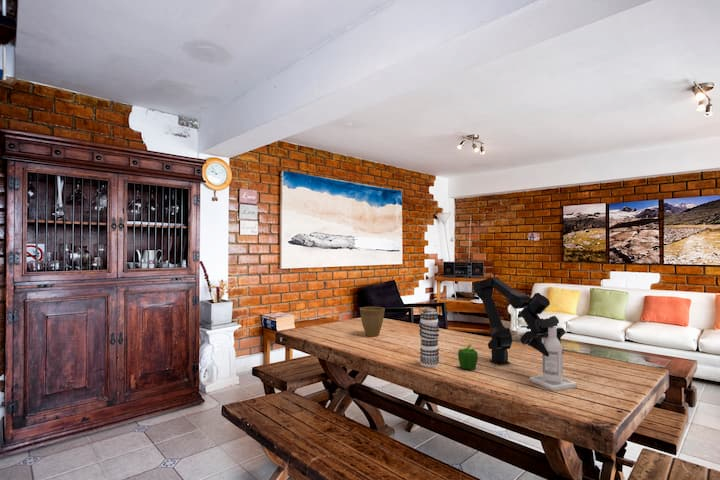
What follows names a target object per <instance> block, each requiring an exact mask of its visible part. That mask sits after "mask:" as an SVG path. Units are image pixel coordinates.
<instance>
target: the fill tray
mask: <svg viewBox="0 0 720 480" xmlns="http://www.w3.org/2000/svg"><path fill="white" fill-rule="evenodd" d="M529 382H532V383H534V384H535V385H538V386H541V387H543V388H545V389H547V390H549V391H552V392H557V391H562V390H569V389H573V388H574V389H575V388H578V383H577V382H576V381H573V380H571V379H568V378H565V377H563V379H562V381H559V382H553V381H548V380H546V379H544V378H543V374H540V375H533V376H530V377H529Z"/></svg>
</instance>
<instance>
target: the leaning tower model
mask: <svg viewBox="0 0 720 480" xmlns="http://www.w3.org/2000/svg"><path fill="white" fill-rule="evenodd" d="M438 313H439V311H437V309H436V308H435V307H424V308H423V309H422V310H421V311H420V320H419V321H418V323H419V339H420V348H419V350H420V352H419V354H420V355H419V358H420V359H419V361H420V363H419V365H420V366H422V367H427V368H436V367H438V366H439V365H440V363H439V362H440V355H439V354H440V352H439V351H440V348H439V343H438V342H439V338H440V337H439V336H440V334H439V332H440V329H439V328H440V326H439V325H440V323H441V322H440V321H439V317H438Z"/></svg>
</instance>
